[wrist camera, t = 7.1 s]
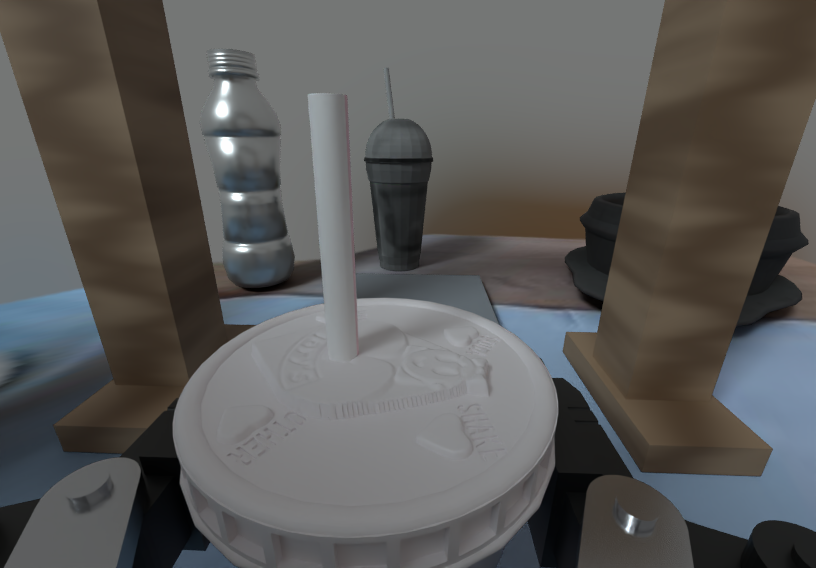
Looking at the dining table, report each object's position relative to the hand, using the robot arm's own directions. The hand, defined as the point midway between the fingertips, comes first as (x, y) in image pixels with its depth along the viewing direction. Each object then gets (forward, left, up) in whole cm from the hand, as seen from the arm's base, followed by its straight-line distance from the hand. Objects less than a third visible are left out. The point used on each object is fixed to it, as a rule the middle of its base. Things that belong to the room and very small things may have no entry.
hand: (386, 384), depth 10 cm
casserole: (+17, +33, -8) cm, 38 cm away
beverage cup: (-10, +32, -8) cm, 34 cm away
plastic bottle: (-21, +22, -8) cm, 31 cm away
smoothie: (+1, -2, -8) cm, 8 cm away
